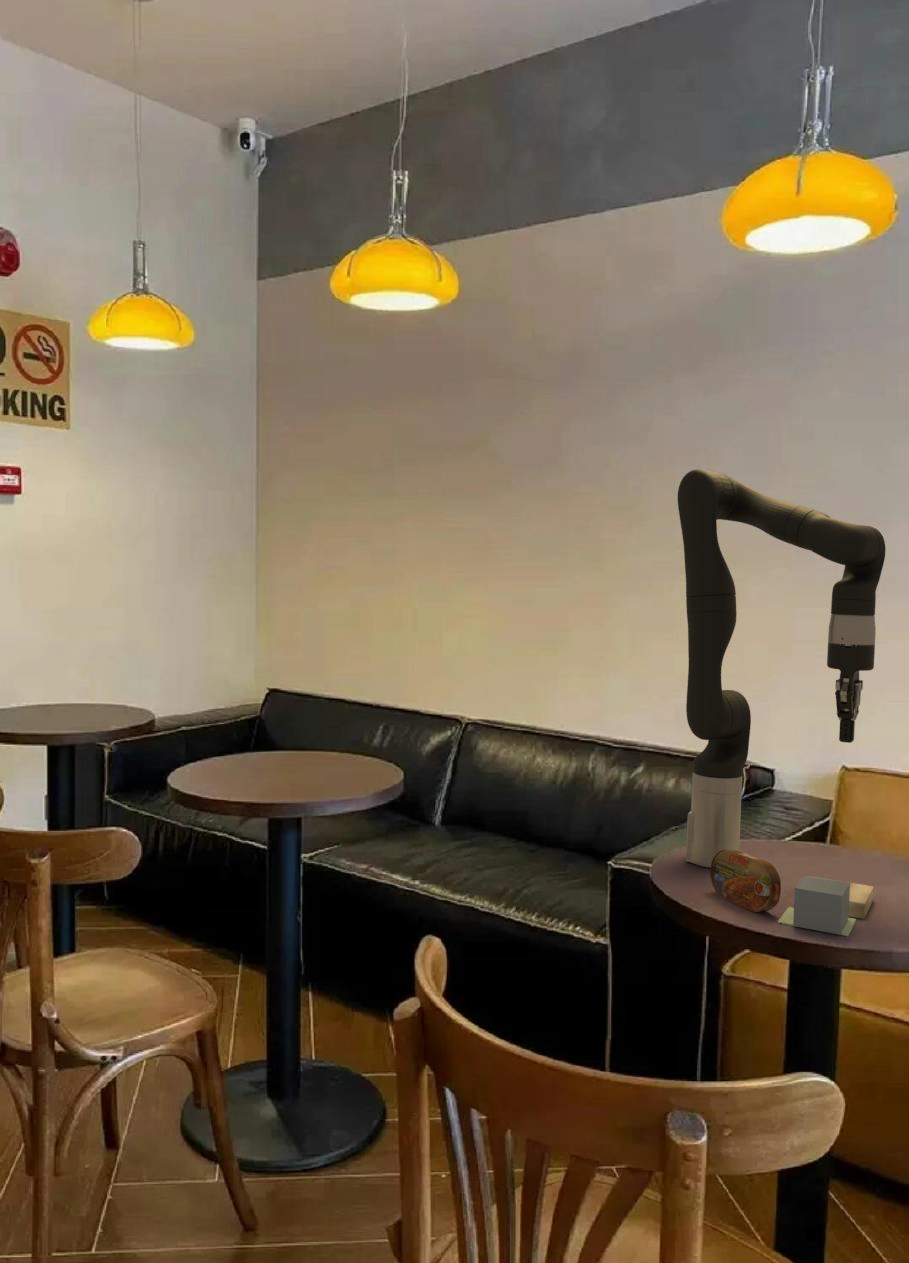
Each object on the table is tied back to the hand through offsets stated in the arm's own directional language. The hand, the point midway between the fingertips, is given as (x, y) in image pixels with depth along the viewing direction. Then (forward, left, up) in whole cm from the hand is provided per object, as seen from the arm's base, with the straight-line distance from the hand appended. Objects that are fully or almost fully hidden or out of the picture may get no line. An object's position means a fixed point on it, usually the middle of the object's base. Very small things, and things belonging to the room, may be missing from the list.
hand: (846, 741), depth 173 cm
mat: (-1, -16, -27) cm, 32 cm away
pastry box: (0, -17, -27) cm, 32 cm away
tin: (-13, -14, -27) cm, 33 cm away
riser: (0, -5, -27) cm, 27 cm away
